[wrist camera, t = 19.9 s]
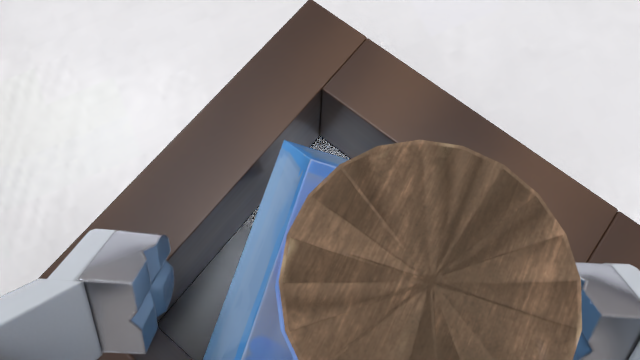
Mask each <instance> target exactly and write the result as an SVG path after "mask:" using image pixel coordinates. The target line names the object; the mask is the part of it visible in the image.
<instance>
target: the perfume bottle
mask: <svg viewBox="0 0 640 360" xmlns="http://www.w3.org/2000/svg"><path fill="white" fill-rule="evenodd" d="M581 332H582V299H581V279H580V275H579V272H578V269H577V266H576V263H575V260H574V257H573V254H572V251H571V248H570V245H569V242H568V239H567V235H566V233H565V232H564V230H563V229H562V227H561V226H560V224H559V223H558V221H557V220H556V219H555V217H554V216H553V214H552V213H551V211H550V210H549V208H548V207H547V205H546V204H545V202H544V201H543V199H542V198H541V196H540V195H539V194H538V193H537V192H536V191H535V190H533V189H532V188H531V187H530V186H529V185H527V184H526V183H525V182H524V181H523V180H522V179H520V178H519V177H518V176H517V175H516V174H514V173H513V172H512V171H511V170H510V169H509V168H507V167H506V166H505V165H504V164H502V163H499V162H497V161H495V160H493V159H491V158H488V157H486V156H484V155H482V154H480V153H477V152H475V151H473V150H471V149H469V148H467V147H464V146H460V145H453V144H447V143H440V142H433V141H426V140H414V141H407V142H400V143H394V144H387V145H380V146H376V147H374V148H372V149H370V150H368V151H366V152H364V153H362V154H360V155H358V156H356V157H354V158H352V159H350V160H348V159H345V158H342V157H339V156H335V155H332V154H329V153H326V152H322V151H319V150H316V149H312V148H309V147H306V146H303V145H299V144H296V143H293V142H289V141H286V140H284V141H283V144H282V147H281V149H280V152H279V155H278V158H277V160H276V163H275V166H274V168H273V171H272V174H271V177H270V179H269V182H268V185H267V187H266V190H265V193H264V195H263V198H262V201H261V204H260V206H259V209H258V212H257V214H256V217H255V220H254V223H253V225H252V228H251V231H250V233H249V236H248V239H247V241H246V244H245V247H244V250H243V252H242V255H241V258H240V260H239V263H238V266H237V269H236V271H235V274H234V277H233V279H232V282H231V285H230V288H229V290H228V293H227V296H226V298H225V301H224V304H223V306H222V309H221V312H220V315H219V317H218V320H217V323H216V325H215V328H214V331H213V334H212V336H211V339H210V342H209V344H208V347H207V350H206V352H205V355H204V358H203V360H573V358H574V354H575V351H576V348H577V345H578V341H579V338H580V335H581Z"/></svg>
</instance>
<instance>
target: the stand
mask: <svg viewBox="0 0 640 360" xmlns="http://www.w3.org/2000/svg"><path fill="white" fill-rule="evenodd" d="M319 135H320V136H321V137H323V138H324V139H325V140H327V141H328V142H329V143H331V144H332V145H333V146H335V147H336V148H337V149H339V150H340V151H341V152H343V153H344V154H345V155H347V156H348V157H349V158H351V159H352V158H354V157H356V156H358V155H360V154H362V153H364V152H366V151H368V150H370V149H372V148H374V147H376V146H380V145H387V144H394V143H400V142H407V141H414V140H426V141H433V142H440V143H447V144H453V145H460V146H464V147H467V148H469V149H471V150H473V151H475V152H477V153H480V154H482V155H484V156H486V157H488V158H491V159H493V160H495V161H497V162H499V163H502V164H504V165H505V166H506V167H507V168H509V169H510V170H511V171H512V172H513V173H514V174H516V175H517V176H518V177H519V178H520V179H522V180H523V181H524V182H525V183H526V184H527V185H529V186H530V187H531V188H532V189H533V190H535V191H536V192H537V193H538V194H539V195H540V196H541V198H542V199H543V201H544V202H545V204H546V205H547V207H548V208H549V210H550V211H551V213H552V214H553V216H554V217H555V219H556V220H557V221H558V223H559V224H560V226H561V227H562V229H563V230H564V232H565V233H566V235H567V239H568V242H569V245H570V248H571V251H572V254H573V257H574V260H575V262H582V263H598V264H604V263H615V264H630V265H632V266H634V267H636V268H638V269H639V271H640V225H639V224H637V223H636V222H634V221H633V220H631V219H630V218H629V217H627V216H626V215H624V214H623V213H621V212H617V211H618V210H617V209H616V208H615V207H613V206H612V205H610V204H609V203H607V202H606V201H605V200H603V199H602V198H600V197H599V196H597V195H596V194H594V193H593V192H591V191H590V190H589V189H587V188H586V187H584V186H583V185H581V184H580V183H578V182H577V181H575V180H574V179H572V178H571V177H570V176H568V175H567V174H565V173H564V172H562V171H561V170H559V169H558V168H556V167H555V166H554V165H552V164H551V163H549V162H548V161H546V160H545V159H543V158H542V157H540V156H539V155H537V154H536V153H535V152H533V151H532V150H530V149H529V148H527V147H526V146H524V145H523V144H521V143H520V142H519V141H517V140H516V139H514V138H513V137H511V136H510V135H508V134H507V133H505V132H504V131H502V130H501V129H500V128H498V127H497V126H495V125H494V124H492V123H491V122H489V121H488V120H486V119H485V118H484V117H482V116H481V115H479V114H478V113H476V112H475V111H473V110H472V109H470V108H469V107H467V106H466V105H465V104H463V103H462V102H460V101H459V100H457V99H456V98H454V97H453V96H451V95H450V94H448V93H447V92H446V91H444V90H443V89H441V88H440V87H438V86H437V85H435V84H434V83H432V82H431V81H430V80H428V79H427V78H425V77H424V76H422V75H421V74H419V73H418V72H416V71H415V70H413V69H412V68H411V67H409V66H408V65H406V64H405V63H403V62H402V61H400V60H399V59H397V58H396V57H395V56H393V55H392V54H390V53H389V52H387V51H386V50H384V49H383V48H381V47H380V46H378V45H377V44H376V43H374V42H373V41H371V40H370V39H368V38H366V37H365V36H364V35H363V34H361V33H360V32H358V31H357V30H355V29H354V28H352V27H351V26H349V25H348V24H346V23H345V22H344V21H342V20H341V19H339V18H338V17H336V16H335V15H333V14H332V13H330V12H329V11H328V10H326V9H325V8H323V7H322V6H320V5H319V4H317V3H316V2H314V1H313V0H308V1H307V2H306V3H305V4H304V5H303V6H302V7H301V8H300V9H299V11H298V12H297V13H296V14H295V15H294V16H293V17H292V18H291V19H290V20H289V21H288V22H287V23H286V24H285V25H284V26H283V27H282V28H281V29H280V30H279V31H278V32H277V33H276V34H275V35H274V36H273V37H272V38H271V39H270V40H269V41H268V42H267V43H266V45H265V46H264V47H263V48H262V49H261V50H260V51H259V52H258V53H257V54H256V55H255V56H254V57H253V58H252V59H251V60H250V61H249V62H248V63H247V64H246V65H245V66H244V67H243V68H242V69H241V70H240V71H239V72H238V73H237V74H236V75H235V76H234V78H233V79H232V80H231V81H230V82H229V83H228V84H227V85H226V86H225V87H224V88H223V89H222V90H221V91H220V92H219V93H218V94H217V95H216V96H215V97H214V98H213V99H212V100H211V101H210V102H209V103H208V104H207V105H206V106H205V107H204V108H203V109H202V110H201V112H200V113H199V114H198V115H197V116H196V117H195V118H194V119H193V120H192V121H191V122H190V123H189V124H188V125H187V126H186V127H185V128H184V129H183V130H182V131H181V132H180V133H179V134H178V135H177V136H176V137H175V138H174V139H173V140H172V141H171V142H170V143H169V144H168V146H167V147H166V148H165V149H164V150H163V151H162V152H161V153H160V154H159V155H158V156H157V157H156V158H155V159H154V160H153V161H152V162H151V163H150V164H149V165H148V166H147V167H146V168H145V169H144V170H143V171H142V172H141V173H140V174H139V175H138V176H137V177H136V179H135V180H134V181H133V182H132V183H131V184H130V185H129V186H128V187H127V188H126V189H125V190H124V191H123V192H122V193H121V194H120V195H119V196H118V197H117V198H116V199H115V200H114V201H113V202H112V203H111V204H110V205H109V206H108V207H107V208H106V209H105V210H104V211H103V213H102V214H101V215H100V216H99V217H98V218H97V219H96V220H95V221H94V222H93V223H92V224H91V225H90V226H89V227H88V228H87V229H86V230H85V231H84V232H83V233H82V234H81V235H80V236H79V237H78V238H77V239H76V240H75V241H74V242H73V243H72V244H71V246H70V247H69V248H68V249H67V250H66V251H65V252H64V253H63V254H62V255H61V256H60V257H59V258H58V259H57V260H56V261H55V262H54V263H53V264H52V265H51V266H50V267H49V268H48V269H47V270H46V271H45V272H44V273H43V274H42V275H41V276H40V277H39V278H38V279H47V278H48V277H49V276H50V275H51V274H52V273H53V272H54V270H55V269H56V268H57V267H58V266H59V265H60V264H61V262H62V261H63V260H64V259H65V258H66V257H67V256H68V254H69V253H70V252H71V251H72V250H73V249H74V248H75V247H76V245H77V244H78V243H79V242H80V241H81V240H82V239H83V237H84V236H85V235H86V234H87V233H88V232H89V231H90V230H93V229H107V230H117V231H119V230H121V231H133V232H144V233H155V234H165V235H166V236H167V237H168V238H169V242H170V248H171V251H170V253H169V255H168V257H167V259H166V260H167V261H168V262H169V263H170V264H171V265H172V267H173V270H174V289H173V293H172V298H171V301H170V304H169V306H168V308H167V310H166V312H167V311H168V310H169V309H170V308H171V306H172V305H173V304H174V303H175V302H176V301H177V300H178V298H179V297H180V296H181V295H182V294H183V293H184V291H185V290H186V289H187V288H188V287H189V286H190V285H191V283H192V282H193V281H194V280H195V279H196V278H197V276H198V275H199V274H200V273H201V272H202V271H203V269H204V268H205V267H206V266H207V265H208V264H209V263H210V261H211V260H212V259H213V258H214V257H215V256H216V254H217V253H218V252H219V251H220V250H221V249H222V248H223V246H224V245H225V244H226V243H227V242H228V241H229V239H230V238H231V237H232V236H233V235H234V234H235V233H236V231H237V230H238V229H239V228H240V227H241V226H242V224H243V223H244V222H245V221H246V220H247V219H248V217H249V216H250V215H251V214H252V213H253V212H254V211H255V209H256V208H257V207H258V206H259V205H260V204H261V201H262V198H263V195H264V193H265V190H266V187H267V185H268V182H269V179H270V177H271V174H272V171H273V168H274V166H275V163H276V160H277V158H278V155H279V152H280V149H281V147H282V144H283V141H284V140H286V141H289V142H293V143H296V144H299V145H303V146H306V147H310V146H311V145H312V144H313V142H314V141H315V140H316V139H317V138H318V137H319ZM166 312H164V313H163V314H161V315H160V316H158V317H157V322H158V321H159V320H160V319H161V318H162V317H163V316H164V315H165V313H166ZM97 360H192V359H191V358H190V357H189V356H188V355H187V354H186V353H185V352H184V351H183V350H182V349H180V348H179V347H178V346H177V345H176V344H175V343H174V342H173V341H172V340H171V339H170V338H169V337H167V336H166V335H165V334H164V333H163V332H162V331H161V330H160V329H159V328H158V330H157V332H156V334H155V336H154V338H153V340H152V342H151V344H150V347H149V349H148V351H147V353H146V354H128V353H103V352H102V356H100V357H99V358H98V359H97Z"/></svg>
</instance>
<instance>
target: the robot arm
mask: <svg viewBox="0 0 640 360" xmlns="http://www.w3.org/2000/svg"><path fill="white" fill-rule="evenodd" d="M170 251H171V248H170V242H169V238H168V237H167V236H166V235H165V234H155V233H144V232H133V231H121V230H119V231H117V230H107V229H93V230H90V231H89V232H88V233H87V234H86V235H85V236H84V237H83V239H82V240H81V241H80V242H79V243H78V244H77V245H76V247H75V248H74V249H73V250H72V251H71V252H70V253H69V254H68V256H67V257H66V258H65V259H64V260H63V261H62V262H61V264H60V265H59V266H58V267H57V268H56V269H55V270H54V272H53V273H52V274H51V275H50V276H49V277H48V278H47V279H37V280H35V281H33V282H31V283H29V284H26V285H24V286H22V287H20V288H18V289H16V290H14V291H12V292H10V293H7V294H5V295H3V296H1V297H0V360H97V359H98V358H99V357H100V356H102V352H103V353H128V354H146V353H147V351H148V349H149V347H150V344H151V342H152V340H153V338H154V336H155V334H156V332H157V330H158V322H157V317H158V316H160V315H161V314H163V313H164V312H166V310H167V308H168V306H169V304H170V301H171V298H172V293H173V289H174V270H173V267H172V265H171V264H170V263H169V262H168V261H167V260H166V259H167V257H168V255H169V253H170ZM575 263H576V266H577V269H578V272H579V275H580V279H581V299H582V332H581V335H580V338H579V341H578V345H577V348H576V351H575V354H574V358H573V360H640V271H639V269H638V268H636V267H634V266H632V265H630V264H615V263H604V264H598V263H582V262H575Z"/></svg>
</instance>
